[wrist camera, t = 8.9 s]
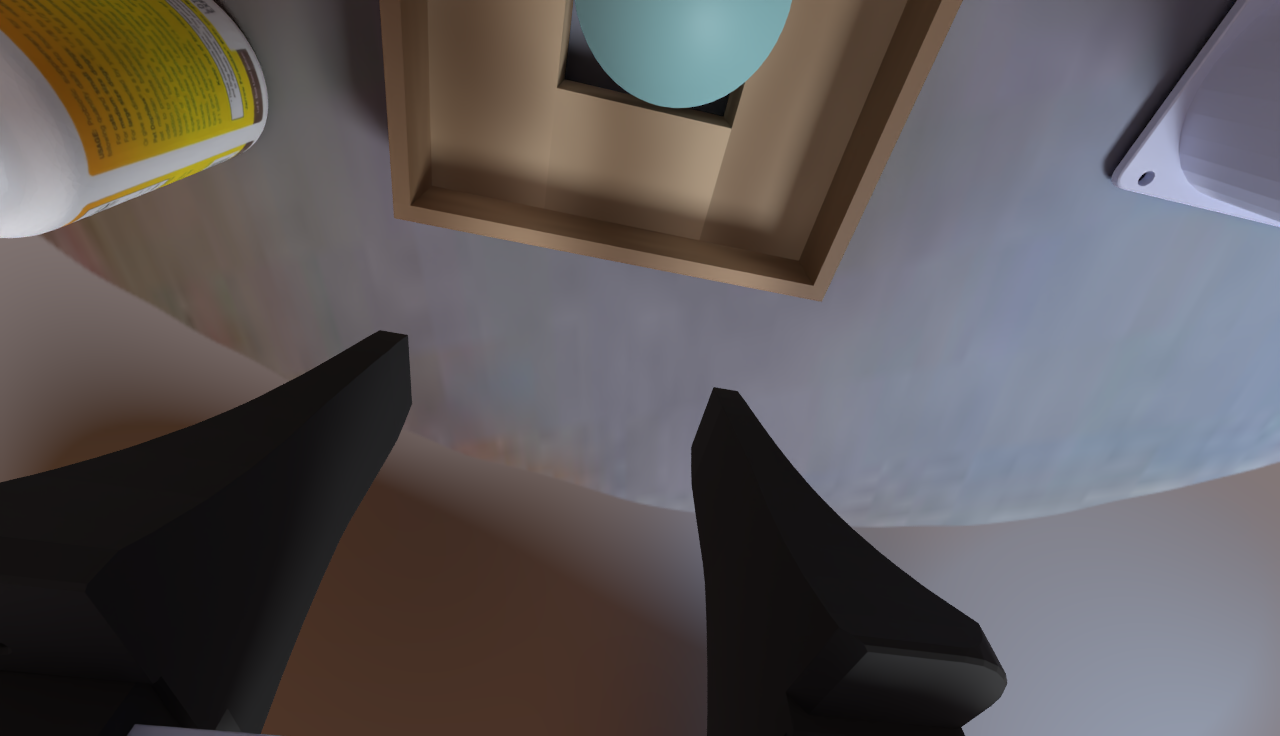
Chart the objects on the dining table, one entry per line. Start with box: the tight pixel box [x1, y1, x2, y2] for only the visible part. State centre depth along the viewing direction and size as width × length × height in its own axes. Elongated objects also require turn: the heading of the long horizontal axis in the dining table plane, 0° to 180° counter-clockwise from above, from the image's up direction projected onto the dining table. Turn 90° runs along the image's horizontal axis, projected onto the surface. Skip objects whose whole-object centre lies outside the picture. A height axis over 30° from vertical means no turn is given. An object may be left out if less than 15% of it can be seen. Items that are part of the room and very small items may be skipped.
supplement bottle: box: [0, 0, 268, 238], centre depth 13 cm, size 6×6×10 cm
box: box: [379, 0, 963, 302], centre depth 14 cm, size 14×14×4 cm
